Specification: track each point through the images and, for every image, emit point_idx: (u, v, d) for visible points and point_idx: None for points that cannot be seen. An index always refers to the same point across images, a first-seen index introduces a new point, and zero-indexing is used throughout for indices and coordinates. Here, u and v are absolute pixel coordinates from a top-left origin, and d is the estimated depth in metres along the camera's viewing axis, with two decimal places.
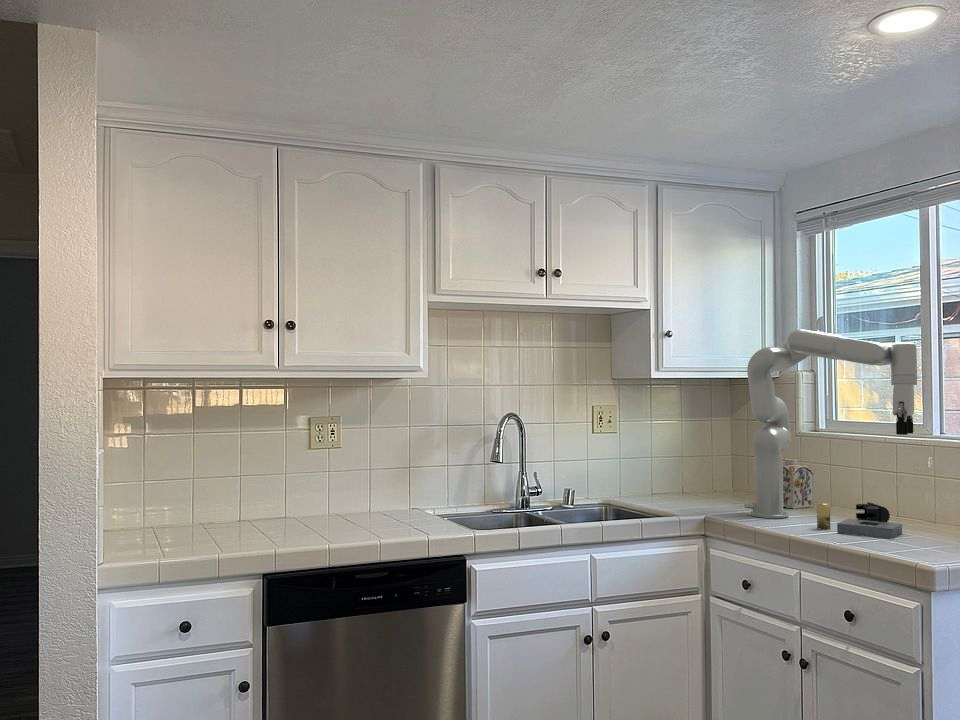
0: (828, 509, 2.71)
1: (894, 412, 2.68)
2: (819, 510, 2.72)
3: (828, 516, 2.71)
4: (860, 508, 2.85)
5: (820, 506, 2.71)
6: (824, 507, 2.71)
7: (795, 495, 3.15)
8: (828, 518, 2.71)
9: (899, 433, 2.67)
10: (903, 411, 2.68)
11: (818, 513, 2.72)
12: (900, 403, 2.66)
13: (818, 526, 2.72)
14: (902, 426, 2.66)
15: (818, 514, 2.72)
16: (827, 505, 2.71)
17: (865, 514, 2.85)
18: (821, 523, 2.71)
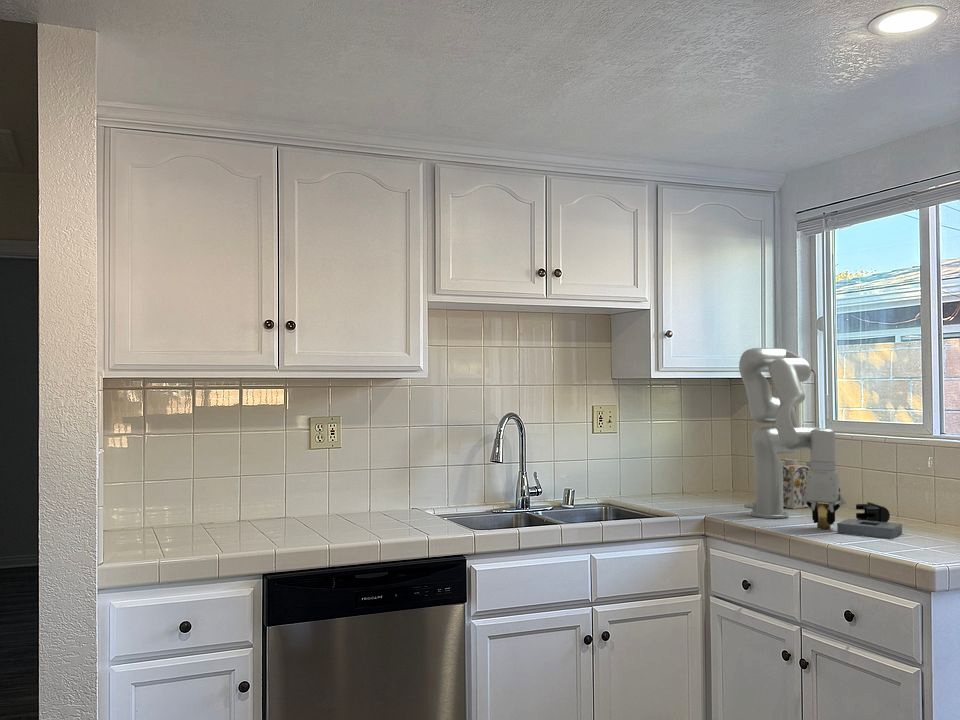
0: (828, 509, 2.71)
1: (837, 500, 2.68)
2: (819, 510, 2.72)
3: None
4: (860, 508, 2.85)
5: (820, 506, 2.71)
6: (824, 507, 2.71)
7: (795, 495, 3.15)
8: None
9: (831, 523, 2.70)
10: None
11: (818, 513, 2.72)
12: (839, 493, 2.69)
13: (818, 526, 2.72)
14: (834, 516, 2.71)
15: (818, 514, 2.72)
16: (827, 505, 2.71)
17: (865, 514, 2.85)
18: (821, 523, 2.71)
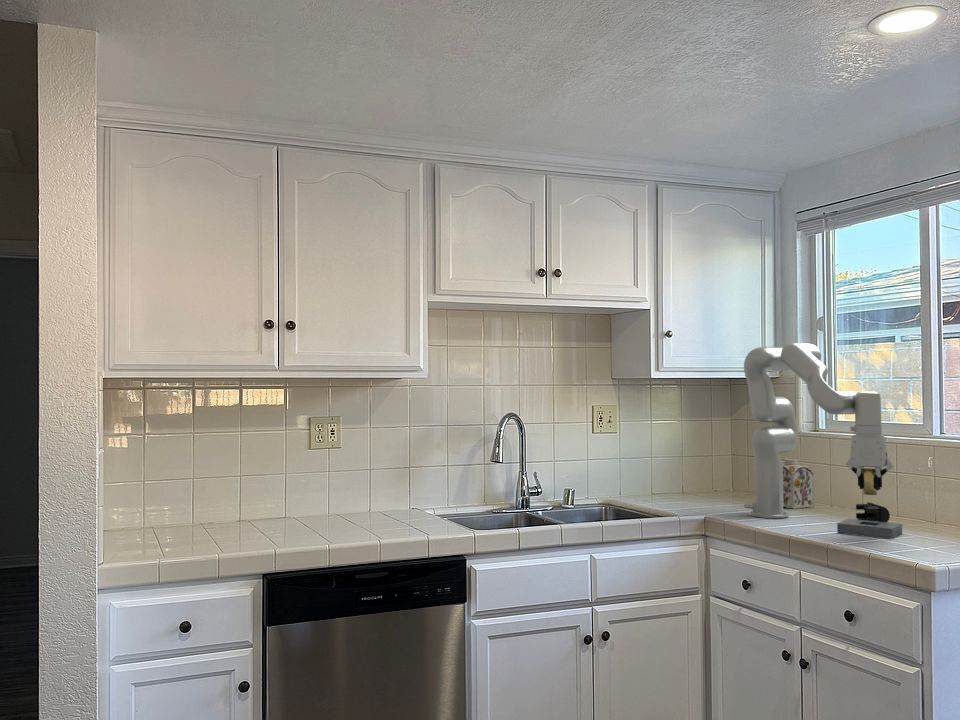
0: (875, 474, 2.62)
1: (884, 464, 2.59)
2: (865, 475, 2.63)
3: (874, 481, 2.62)
4: (860, 508, 2.85)
5: (866, 471, 2.63)
6: (870, 472, 2.62)
7: (795, 495, 3.15)
8: None
9: (878, 488, 2.62)
10: None
11: (864, 478, 2.63)
12: (886, 457, 2.61)
13: (864, 492, 2.63)
14: (881, 481, 2.62)
15: (864, 479, 2.63)
16: (873, 470, 2.62)
17: (865, 514, 2.85)
18: (867, 488, 2.62)
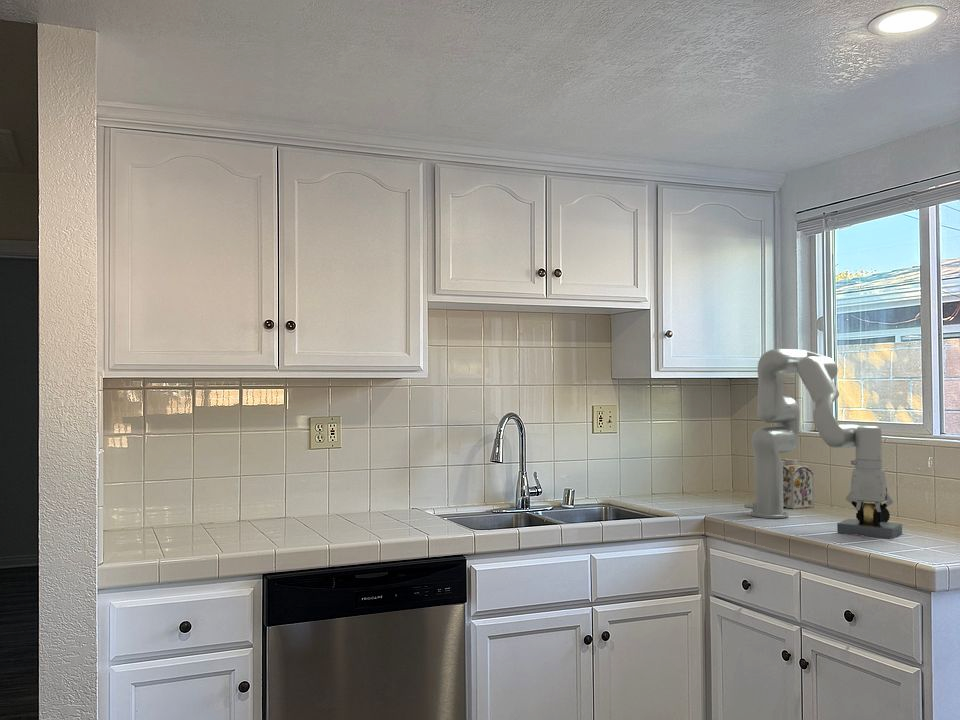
0: (874, 509, 2.62)
1: (884, 499, 2.59)
2: (865, 510, 2.63)
3: (874, 515, 2.62)
4: None
5: (866, 505, 2.63)
6: (870, 507, 2.62)
7: (795, 495, 3.15)
8: None
9: (878, 523, 2.62)
10: None
11: (864, 513, 2.63)
12: (886, 492, 2.61)
13: None
14: (881, 516, 2.62)
15: (864, 514, 2.63)
16: (873, 504, 2.62)
17: None
18: (867, 523, 2.62)
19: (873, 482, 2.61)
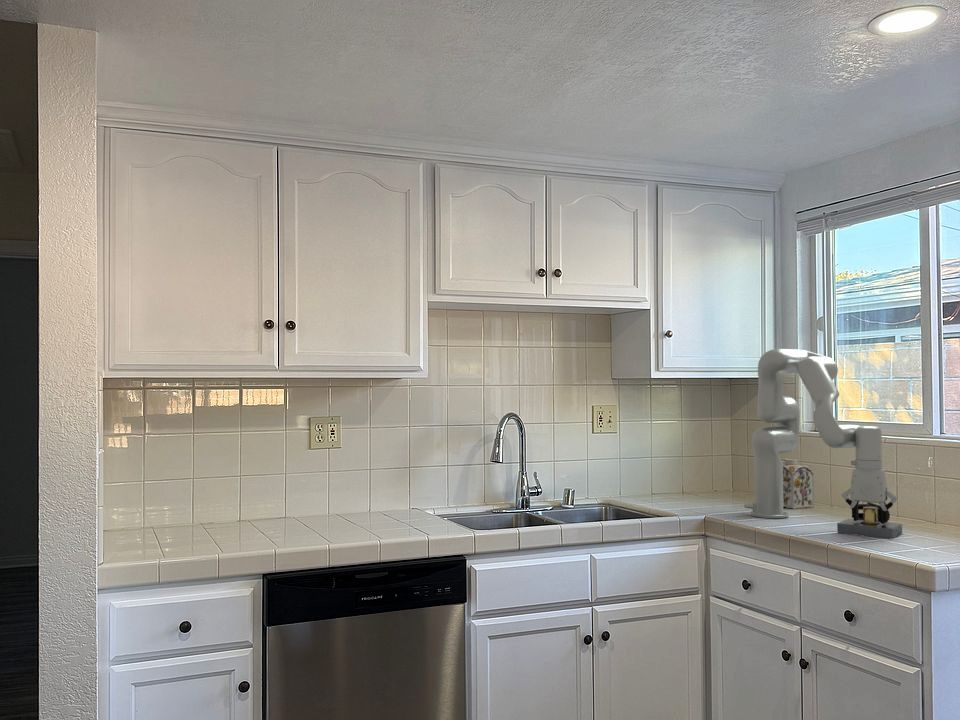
0: (875, 513, 2.62)
1: (884, 499, 2.59)
2: (866, 514, 2.63)
3: (875, 520, 2.62)
4: (860, 508, 2.85)
5: (867, 510, 2.62)
6: (871, 511, 2.62)
7: (795, 495, 3.15)
8: (876, 523, 2.62)
9: (883, 522, 2.60)
10: None
11: (865, 517, 2.63)
12: (887, 491, 2.60)
13: None
14: (887, 514, 2.61)
15: (865, 518, 2.63)
16: (874, 509, 2.62)
17: None
18: None
19: (873, 482, 2.61)
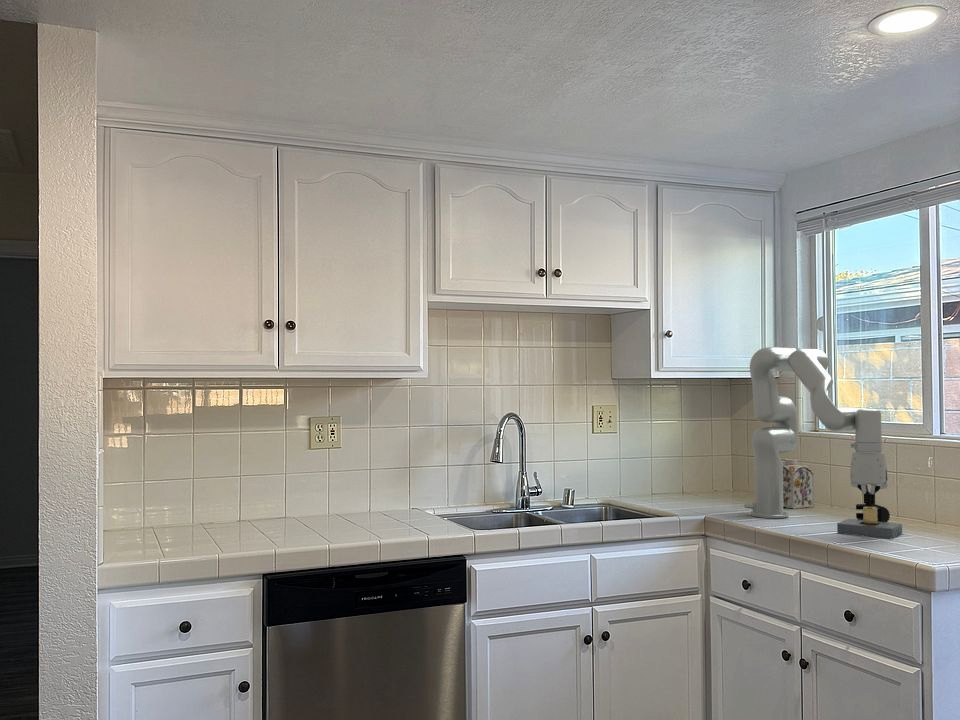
0: (875, 513, 2.62)
1: (884, 481, 2.59)
2: (866, 514, 2.63)
3: (875, 520, 2.62)
4: (860, 508, 2.85)
5: (867, 510, 2.62)
6: (871, 511, 2.62)
7: (795, 495, 3.15)
8: (876, 523, 2.62)
9: (871, 505, 2.63)
10: None
11: (865, 517, 2.63)
12: None
13: None
14: (874, 498, 2.63)
15: (865, 518, 2.63)
16: (874, 509, 2.62)
17: None
18: None
19: (873, 464, 2.61)
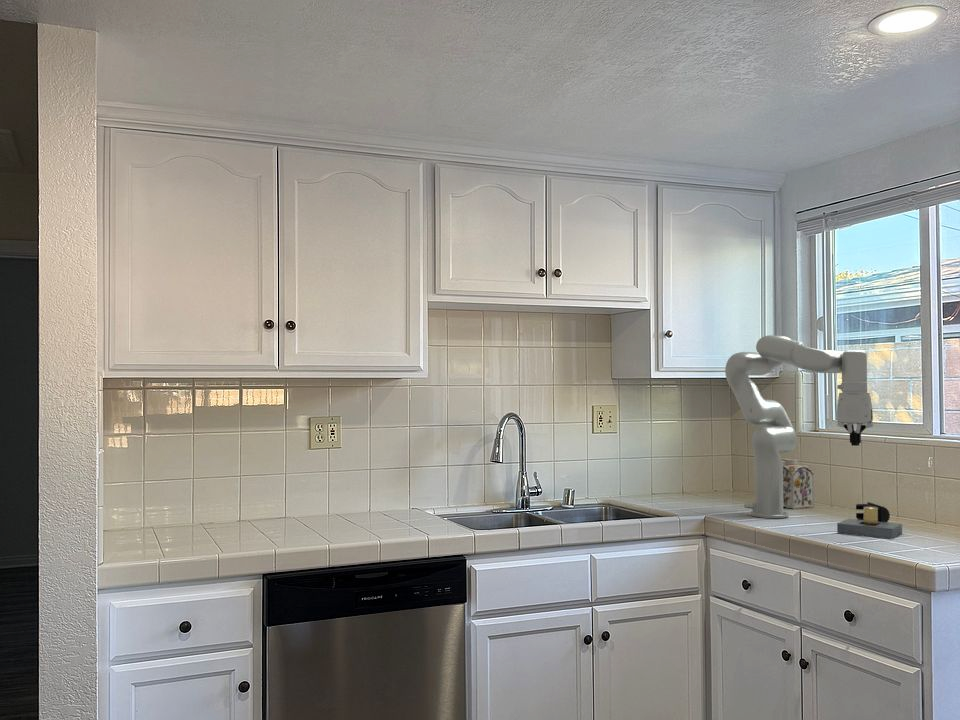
0: (875, 513, 2.62)
1: (869, 420, 2.66)
2: (866, 514, 2.63)
3: (875, 520, 2.62)
4: (860, 508, 2.85)
5: (867, 510, 2.62)
6: (871, 511, 2.62)
7: (795, 495, 3.15)
8: (876, 523, 2.62)
9: (857, 444, 2.70)
10: None
11: (865, 517, 2.63)
12: None
13: None
14: (860, 437, 2.70)
15: (865, 518, 2.63)
16: (874, 509, 2.62)
17: None
18: None
19: (859, 404, 2.68)
